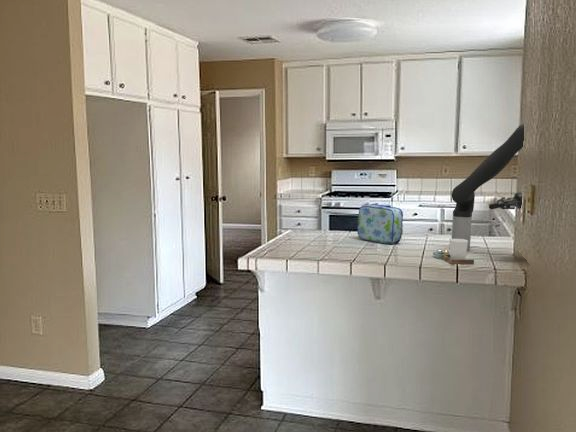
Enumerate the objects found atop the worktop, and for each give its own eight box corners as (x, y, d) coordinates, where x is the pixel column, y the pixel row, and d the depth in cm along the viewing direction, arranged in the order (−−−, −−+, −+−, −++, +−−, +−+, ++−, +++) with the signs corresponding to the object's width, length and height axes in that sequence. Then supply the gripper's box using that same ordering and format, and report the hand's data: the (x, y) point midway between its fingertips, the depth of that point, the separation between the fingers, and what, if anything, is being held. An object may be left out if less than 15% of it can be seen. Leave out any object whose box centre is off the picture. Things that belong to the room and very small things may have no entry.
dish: (432, 256, 251) (432, 251, 250) (446, 256, 252) (446, 251, 251) (438, 259, 244) (438, 254, 244) (452, 259, 245) (452, 254, 244)
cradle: (441, 259, 244) (441, 254, 244) (461, 258, 246) (462, 254, 245) (452, 264, 233) (452, 260, 232) (473, 264, 234) (474, 259, 234)
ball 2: (441, 255, 248) (441, 249, 248) (447, 256, 248) (447, 249, 248) (444, 256, 245) (444, 250, 245) (449, 257, 245) (450, 250, 245)
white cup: (464, 260, 243) (465, 238, 242) (468, 263, 235) (470, 241, 234) (447, 259, 244) (448, 238, 242) (451, 263, 236) (452, 241, 234)
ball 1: (435, 255, 250) (434, 249, 249) (441, 253, 250) (440, 248, 249) (438, 257, 247) (437, 251, 246) (444, 255, 247) (443, 249, 247)
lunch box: (404, 243, 284) (406, 205, 281) (392, 246, 277) (394, 206, 274) (367, 237, 303) (368, 201, 300) (355, 239, 296) (356, 202, 293)
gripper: (520, 187, 245) (483, 195, 246) (532, 194, 232) (493, 203, 234) (522, 203, 247) (485, 210, 248) (534, 210, 234) (495, 218, 236)
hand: (489, 207), depth 241 cm, fingers closed
